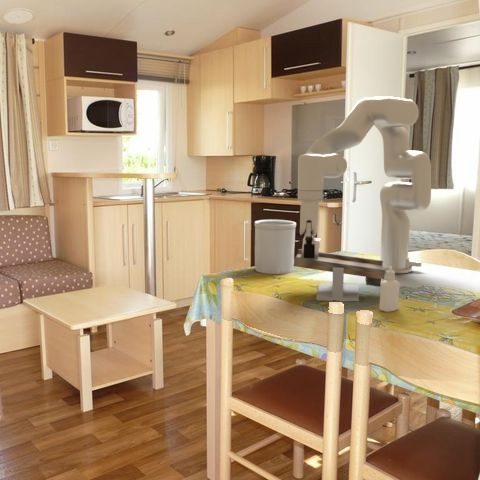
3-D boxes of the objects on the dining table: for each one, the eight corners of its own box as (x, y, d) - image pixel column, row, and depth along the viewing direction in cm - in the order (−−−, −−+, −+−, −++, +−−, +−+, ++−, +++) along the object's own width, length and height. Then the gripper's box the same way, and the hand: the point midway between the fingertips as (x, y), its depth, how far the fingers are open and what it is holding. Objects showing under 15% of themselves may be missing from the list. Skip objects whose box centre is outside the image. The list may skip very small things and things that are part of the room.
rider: (318, 257, 178) (320, 238, 177) (317, 261, 173) (320, 241, 172) (302, 255, 179) (304, 236, 178) (300, 258, 174) (303, 239, 173)
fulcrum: (357, 287, 183) (358, 258, 182) (358, 302, 167) (359, 269, 165) (319, 286, 185) (320, 256, 184) (316, 300, 169) (317, 267, 167)
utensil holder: (299, 267, 214) (300, 220, 211) (289, 276, 200) (290, 225, 197) (261, 265, 219) (261, 218, 216) (248, 273, 205) (248, 223, 202)
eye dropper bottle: (376, 307, 161) (377, 265, 159) (396, 307, 161) (397, 264, 159) (381, 312, 157) (383, 268, 155) (401, 311, 157) (403, 268, 155)
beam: (379, 278, 180) (382, 260, 179) (382, 289, 166) (385, 270, 165) (296, 266, 184) (298, 249, 183) (292, 276, 171) (294, 257, 170)
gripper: (300, 193, 182) (299, 250, 185) (295, 198, 166) (294, 261, 169) (324, 193, 181) (323, 251, 184) (321, 199, 164) (320, 262, 167)
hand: (309, 255), depth 176 cm, fingers closed on rider, 5 cm apart
